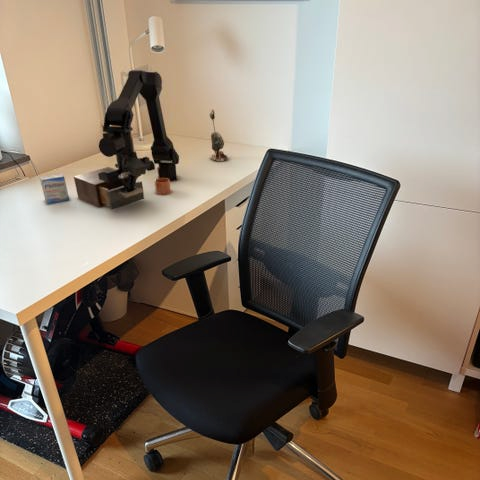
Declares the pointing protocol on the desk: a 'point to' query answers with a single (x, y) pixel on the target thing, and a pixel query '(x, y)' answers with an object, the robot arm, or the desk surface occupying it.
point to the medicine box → (54, 188)
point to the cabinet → (89, 187)
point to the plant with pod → (217, 143)
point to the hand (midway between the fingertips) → (130, 195)
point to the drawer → (119, 194)
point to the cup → (162, 186)
